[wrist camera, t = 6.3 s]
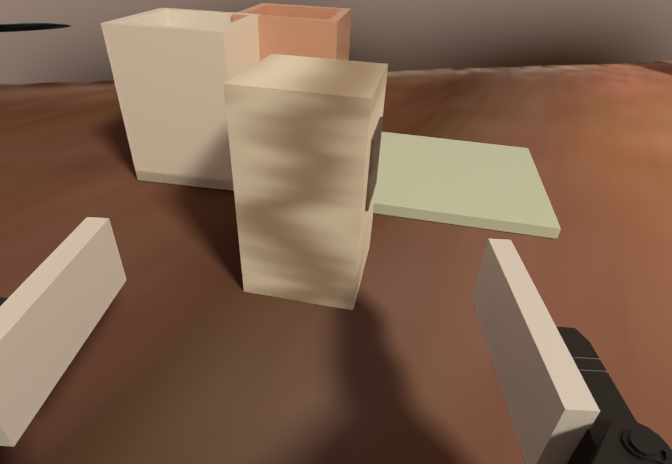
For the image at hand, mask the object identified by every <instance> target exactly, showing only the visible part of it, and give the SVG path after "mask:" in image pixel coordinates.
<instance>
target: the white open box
mask: <svg viewBox="0 0 672 464" xmlns="http://www.w3.org/2000/svg"><path fill="white" fill-rule="evenodd" d="M232 14H241V15H248V16H246V17H244V18H242V19H239V20H237V21H235V22H232ZM259 15H261V14H248V13H232V12H218V11H203V10H188V9H173V8H159V9H155V10H151V11H147V12H143V13H139V14H135V15H132V16H128V17H124V18H120V19H116V20H112V21H108V22H104V23H101V26H102V30H103V34H104V39H105V43H106V47H107V51H108V56H109V60H110V64H111V68H112V73H113V77H114V82H115V86H116V90H117V94H118V99H119V103H120V107H121V112H122V116H123V120H124V124H125V129H126V133H127V137H128V141H129V146H130V150H131V154H132V159H133V163H134V167H135V171H136V176H137V180H141V181H150V182H159V183H168V184H177V185H186V186H195V187H204V188H213V189H222V190H231V191H234V187H233V177H232V167H231V156H230V146H229V136H228V126H227V116H226V106H225V95H224V85H223V83H225V82H227V81H228V80H230V79H231V78H233V77H235V76H236V75H238V74H240V73H241V72H243V71H244V70H246V69H248V68H249V67H251V66H252V65H254V64H256V63H257V62H259V61H260V52H259V32H258V16H259Z"/></svg>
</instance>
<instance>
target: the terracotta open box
mask: <svg viewBox="0 0 672 464" xmlns="http://www.w3.org/2000/svg"><path fill="white" fill-rule="evenodd" d="M237 13H248V14H261V15H259V16H258V32H259V52H260V61H261V60H262V59H264V58H265V57H267V56H269V55H270V54H281V55H293V56H304V57H315V58H326V59H337V60H348V58H349V57H348V56H349V39H350V20H351V19H350V18H351V9H347V8H346V9H345V8H331V7H316V6H300V5H285V4H284V5H283V4H269V3H262V4H259V5H256V6H253V7H251V8H248V9H246V10H243V11H240V12H237ZM246 16H248V15H241V14H232V22H235V21H237V20H239V19H242V18H244V17H246Z"/></svg>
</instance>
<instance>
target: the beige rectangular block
mask: <svg viewBox="0 0 672 464" xmlns="http://www.w3.org/2000/svg"><path fill="white" fill-rule="evenodd" d="M387 68H388V64H382V63H371V62H359V61H348V60H337V59H326V58H315V57H304V56H293V55H281V54H270V55H269V56H267V57H265V58H264V59H262V60H261V61H259V62H257V63H256V64H254V65H252V66H251V67H249V68H248V69H246V70H244V71H243V72H241V73H240V74H238V75H236V76H235V77H233V78H231V79H230V80H228V81H227V82H225V83H223V85H224V95H225V106H226V116H227V126H228V136H229V146H230V156H231V167H232V177H233V187H234V197H235V207H236V218H237V228H238V238H239V248H240V258H241V268H242V279H243V289H244V291H245V292H251V293H256V294H262V295H268V296H273V297H279V298H285V299H290V300H296V301H302V302H308V303H313V304H319V305H325V306H330V307H336V308H342V309H348V310H353V309H354V305H355V301H356V297H357V293H358V289H359V286H360V282H361V278H362V274H363V270H364V266H365V262H366V258H367V254H368V250H369V246H370V237H371V227H372V217H373V207H374V197H375V187H376V182H377V173H378V163H379V154H380V144H381V134H382V124H383V108H384V98H385V88H386V78H387Z"/></svg>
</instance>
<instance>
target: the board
mask: <svg viewBox="0 0 672 464" xmlns="http://www.w3.org/2000/svg"><path fill="white" fill-rule="evenodd" d="M373 213H376V214H383V215H391V216H398V217H405V218H412V219H419V220H426V221H433V222H440V223H447V224H455V225H462V226H469V227H476V228H483V229H490V230H497V231H504V232H512V233H519V234H526V235H533V236H540V237H547V238H554V239H557V237H558V235H559V232H560V230H561V228H560V226H559V223H558V221H557V218H556V216H555V213H554V211H553V208H552V206H551V203H550V201H549V199H548V196H547V194H546V191H545V189H544V186H543V184H542V181H541V179H540V176H539V174H538V172H537V169H536V167H535V164H534V162H533V159H532V157H531V154H530V152H529V149H528V148H521V147H512V146H503V145H495V144H486V143H477V142H468V141H459V140H450V139H441V138H432V137H423V136H415V135H406V134H397V133H388V132H382V134H381V144H380V154H379V163H378V173H377V182H376V187H375V197H374V207H373Z"/></svg>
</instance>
